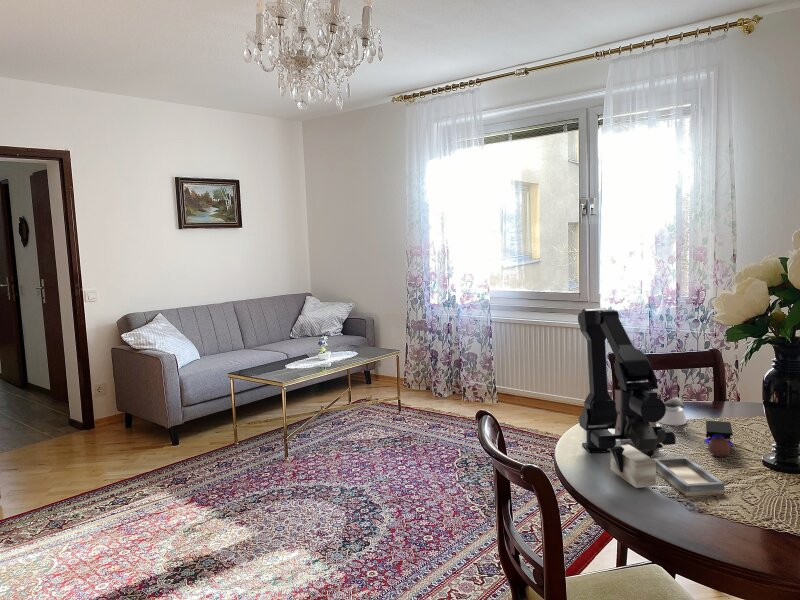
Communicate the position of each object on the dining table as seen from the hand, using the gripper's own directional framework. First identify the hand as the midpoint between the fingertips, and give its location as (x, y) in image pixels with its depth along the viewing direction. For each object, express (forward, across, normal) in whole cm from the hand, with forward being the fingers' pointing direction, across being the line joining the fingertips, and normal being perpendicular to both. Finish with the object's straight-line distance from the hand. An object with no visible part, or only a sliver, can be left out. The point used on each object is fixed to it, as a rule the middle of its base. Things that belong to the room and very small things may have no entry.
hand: (632, 471), depth 142 cm
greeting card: (+3, +12, +25) cm, 28 cm away
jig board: (+3, +13, -1) cm, 13 cm away
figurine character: (+3, +32, +17) cm, 36 cm away
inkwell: (+3, +30, +36) cm, 48 cm away
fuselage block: (+2, 0, 0) cm, 2 cm away
